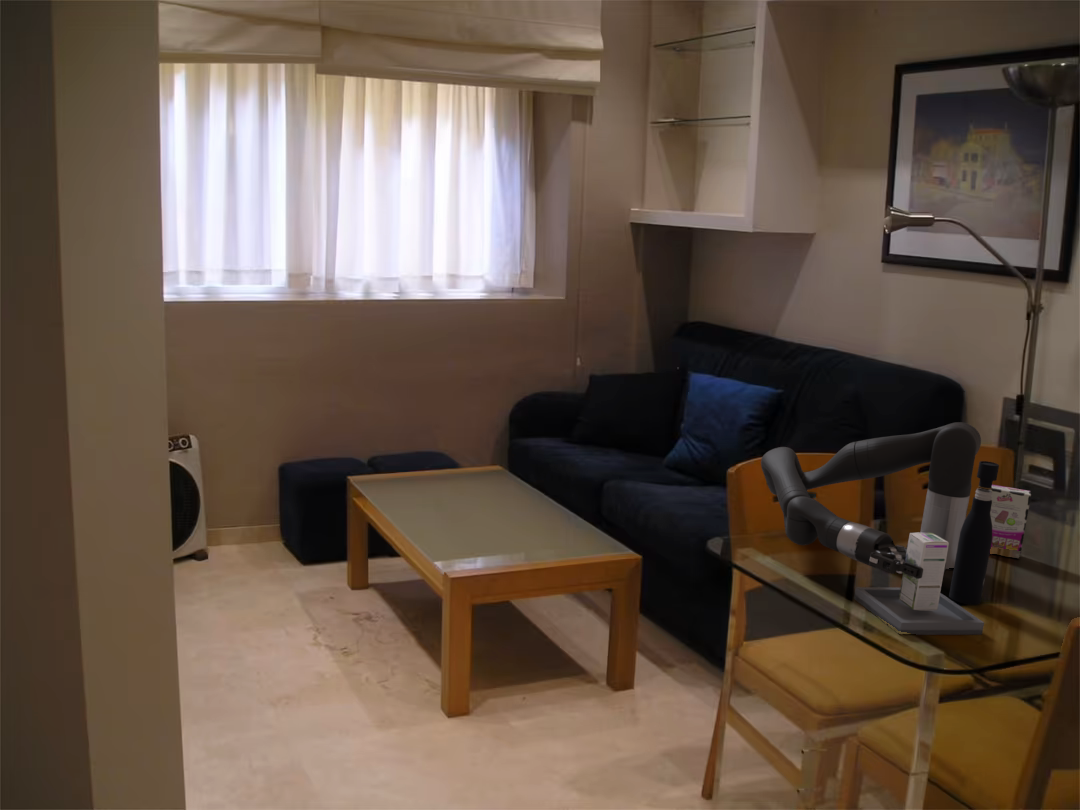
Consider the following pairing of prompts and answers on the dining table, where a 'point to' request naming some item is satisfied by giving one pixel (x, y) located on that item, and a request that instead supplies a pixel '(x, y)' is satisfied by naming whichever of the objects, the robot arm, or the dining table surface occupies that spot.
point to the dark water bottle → (975, 541)
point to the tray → (918, 613)
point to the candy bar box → (1009, 517)
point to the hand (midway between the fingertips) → (933, 571)
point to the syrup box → (924, 571)
